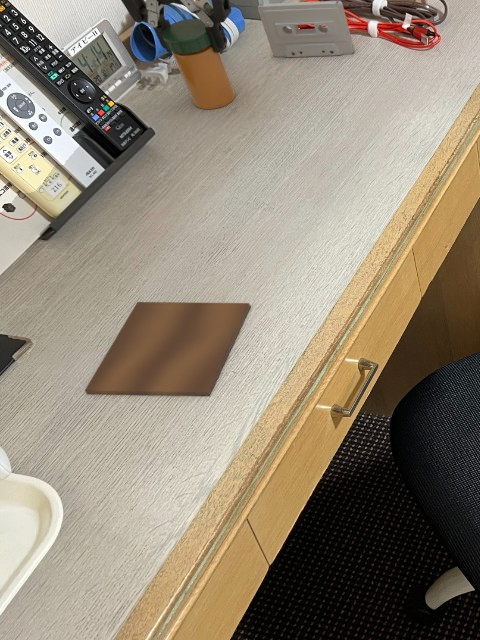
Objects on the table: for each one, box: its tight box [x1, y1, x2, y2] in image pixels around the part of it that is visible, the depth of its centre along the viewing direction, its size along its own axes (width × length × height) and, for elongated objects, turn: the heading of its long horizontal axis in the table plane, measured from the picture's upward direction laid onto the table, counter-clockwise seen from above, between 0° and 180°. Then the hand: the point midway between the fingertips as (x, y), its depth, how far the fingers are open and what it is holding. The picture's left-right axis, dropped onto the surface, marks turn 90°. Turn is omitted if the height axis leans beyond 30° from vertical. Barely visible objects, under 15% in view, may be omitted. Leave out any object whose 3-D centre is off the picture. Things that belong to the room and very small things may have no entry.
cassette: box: [257, 0, 355, 58], centre depth 120 cm, size 12×2×8 cm, turn 92°
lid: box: [162, 18, 211, 54], centre depth 107 cm, size 6×6×2 cm
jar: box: [171, 45, 236, 110], centre depth 111 cm, size 6×6×10 cm
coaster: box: [84, 301, 251, 397], centre depth 82 cm, size 12×12×1 cm
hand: (197, 49), depth 109 cm, fingers closed on lid, 5 cm apart
